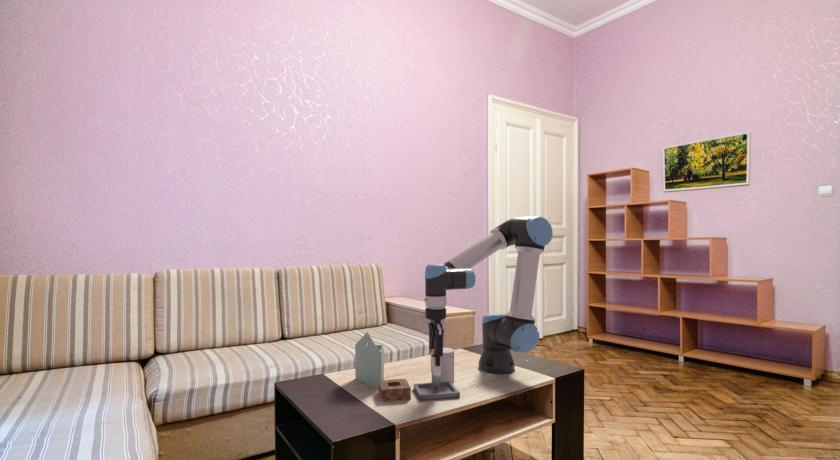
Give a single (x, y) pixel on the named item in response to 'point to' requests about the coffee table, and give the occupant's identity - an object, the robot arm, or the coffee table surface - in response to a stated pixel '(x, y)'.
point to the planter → (369, 361)
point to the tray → (436, 391)
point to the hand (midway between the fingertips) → (435, 372)
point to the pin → (435, 377)
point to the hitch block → (394, 390)
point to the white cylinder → (447, 365)
